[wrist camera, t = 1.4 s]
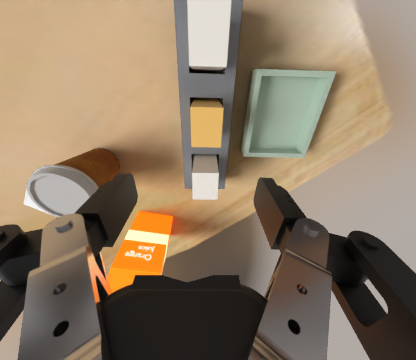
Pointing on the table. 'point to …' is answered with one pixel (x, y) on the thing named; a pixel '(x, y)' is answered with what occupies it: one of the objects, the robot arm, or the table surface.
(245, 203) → the table surface
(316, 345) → the robot arm
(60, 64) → the table surface
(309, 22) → the table surface
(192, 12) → the fuse
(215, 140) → the tan rectangular block
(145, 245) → the orange juice
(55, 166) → the disposable coffee cup
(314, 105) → the tray
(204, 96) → the rack
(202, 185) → the fuse
